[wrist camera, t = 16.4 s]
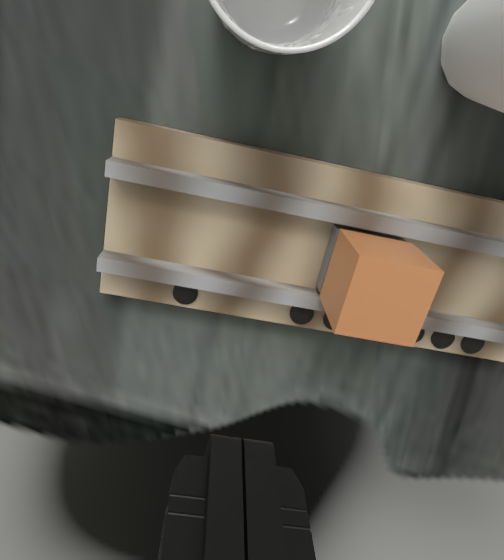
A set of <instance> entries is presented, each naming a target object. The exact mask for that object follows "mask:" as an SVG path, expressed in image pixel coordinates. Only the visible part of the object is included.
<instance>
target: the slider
mask: <svg viewBox="0 0 504 560" xmlns="http://www.w3.org/2000/svg"><path fill="white" fill-rule="evenodd" d="M443 275H444V271H443V270H442V269H441V268H439V267H438V266H437V265H436V264H435V263H434V262H433V261H432V260H431V259H429V258H428V257H427V256H426V255H425V254H424V253H423V252H422V251H421V250H419V249H418V248H417V247H416V246H415V245H414V244H413V243H410V242H407V241H405V240H404V239H403V238H400V237H396V236H391V235H386V234H381V233H376V232H371V231H366V230H361V229H356V228H351V227H346V226H341V225H336V224H334V226H333V229H332V232H331V236H330V239H329V243H328V246H327V249H326V253H325V256H324V259H323V263H322V266H321V270H320V273H319V276H318V280H317V283H316V285H317V288H318V290H319V292H321V293H320V296H319V297H320V300H321V302H322V305H323V307H324V310H325V312H326V315H327V317H328V320H329V322H330V325H331V327H332V330H333V332H334V334H339V335H344V336H350V337H356V338H362V339H368V340H373V341H379V342H385V343H391V344H397V345H402V346H408V347H414V345H415V343H416V340H417V338H418V335H419V333H420V330H421V328H422V326H423V323H424V321H425V318H426V316H427V314H428V311H429V309H430V306H431V304H432V301H433V299H434V297H435V294H436V292H437V289H438V287H439V285H440V282H441V280H442V277H443Z"/></svg>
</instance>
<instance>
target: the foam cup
mask: <svg viewBox="0 0 504 560" xmlns="http://www.w3.org/2000/svg"><path fill="white" fill-rule="evenodd" d="M441 66H442V69H443V71H444V74H445V76H446V79H447V81H448V84H449V85H450V86H451V87H453V88H454V89H455V90H456V91H458V92H459V93H460V94H461V95H463V96H464V97H467V98H468V99H470V100H472V101H475V102H477V103H480V104H483V105H485V106H488V107H490V108H493V109H495V110H498V111H500V112H503V113H504V0H467V1H466V2H465V3H464V4H463V5H462V6H461V7H460V8H459V9H458V10H457V11H456V12H455V13H454V14H453V16H452V18H451V20H450V22H449V25H448V27H447V29H446V31H445V33H444V35H443V38H442V48H441Z"/></svg>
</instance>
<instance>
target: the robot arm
mask: <svg viewBox="0 0 504 560" xmlns="http://www.w3.org/2000/svg"><path fill="white" fill-rule="evenodd" d="M158 560H316V558H315V552H314V546H313V540H312V535H311V532H310V523H309V518H308V514H307V506H306V500H305V495H304V489H303V487H302V485H301V483H300V482H299V480H298V478H297V477H296V475H295V473H294V472H293V470H292V469H291V468H284V467H276V462H275V453H274V446H273V443H271V442H265V441H258V440H250V439H242V440H241V439H240V438H235V437H228V436H221V435H214V434H211V435H210V437H209V441H208V445H207V449H206V453H205V457H200V456H192V455H185V456H184V457H183V459H182V460H181V462H180V463H179V465H178V466H177V468H176V469H175V471H174V473H173V478H172V483H171V488H170V493H169V497H168V502H167V507H166V513H165V517H164V524H163V530H162V537H161V544H160V550H159V557H158Z"/></svg>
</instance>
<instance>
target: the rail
mask: <svg viewBox="0 0 504 560" xmlns="http://www.w3.org/2000/svg"><path fill="white" fill-rule="evenodd" d="M104 177H109V178H110V184H109V195H108V206H107V217H106V228H105V239H104V250H103V251H102V252H101V254H100V255H99V256H98V258H97V270H96V271H97V272H101V284H100V293H106V294H112V295H118V296H124V297H129V298H135V299H141V300H147V301H153V302H158V303H164V304H170V305H176V306H182V307H187V308H193V309H199V310H205V311H211V312H216V313H222V314H228V315H234V316H240V317H246V318H251V319H257V320H263V321H269V322H275V323H280V324H286V325H292V326H298V327H304V328H309V329H315V330H321V331H327V332H333V330H332V327H331V325H330V322H329V320H328V317H327V315H326V312H325V310H324V307H323V305H322V302H321V300H320V297H319V296H320V293H321V292H319V290H318V288H317V285H316V283H317V280H318V276H319V273H320V270H321V266H322V263H323V259H324V256H325V253H326V249H327V246H328V243H329V239H330V236H331V232H332V229H333V226H334V224H336V225H341V226H346V227H351V228H356V229H361V230H366V231H371V232H376V233H381V234H386V235H391V236H396V237H400V238H403V239H404V240H405V241H407V242H410V243H413V244H414V245H415V246H416V247H417V248H418V249H419V250H421V251H422V252H423V253H424V254H425V255H426V256H427V257H428V258H429V259H431V260H432V261H433V262H434V263H435V264H436V265H437V266H438V267H439V268H441V269H442V270H443V271H444V275H443V277H442V280H441V282H440V285H439V287H438V289H437V292H436V294H435V297H434V299H433V301H432V304H431V306H430V309H429V311H428V314H427V316H426V318H425V321H424V323H423V326H422V328H421V330H420V333H419V335H418V338H417V340H416V343H415V345H414V347H420V348H426V349H431V350H437V351H443V352H449V353H455V354H460V355H466V356H472V357H478V358H484V359H489V360H495V361H501V362H504V201H502V200H498V199H493V198H489V197H484V196H479V195H475V194H470V193H466V192H461V191H457V190H452V189H447V188H443V187H438V186H434V185H429V184H424V183H420V182H415V181H411V180H406V179H402V178H397V177H392V176H388V175H383V174H379V173H374V172H370V171H365V170H360V169H356V168H351V167H347V166H342V165H337V164H333V163H328V162H324V161H319V160H315V159H310V158H305V157H301V156H296V155H292V154H287V153H282V152H278V151H273V150H269V149H264V148H260V147H255V146H250V145H246V144H241V143H237V142H232V141H227V140H223V139H218V138H214V137H209V136H205V135H200V134H195V133H191V132H186V131H182V130H177V129H173V128H168V127H163V126H159V125H154V124H150V123H145V122H140V121H136V120H131V119H127V118H122V117H120V118H117V119H115V129H114V140H113V151H112V157H110V158H109V159H107V160H106V165H105V176H104ZM333 333H334V332H333Z"/></svg>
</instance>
